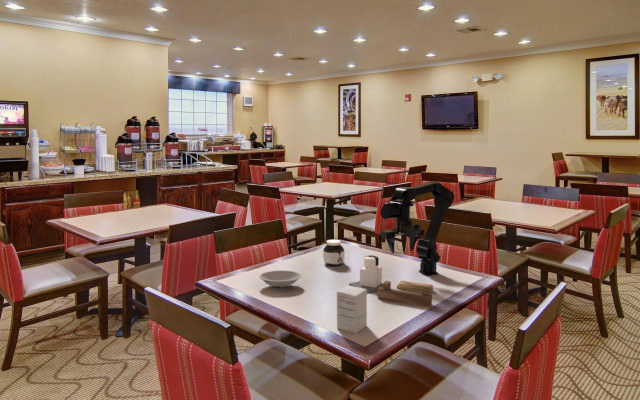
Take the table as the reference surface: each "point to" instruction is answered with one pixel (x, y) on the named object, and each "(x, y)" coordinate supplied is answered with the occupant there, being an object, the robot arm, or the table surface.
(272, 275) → the dish
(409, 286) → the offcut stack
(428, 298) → the walnut rack
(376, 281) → the medicine bottle
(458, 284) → the table surface
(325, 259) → the spread jar
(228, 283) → the table surface
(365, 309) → the supplement box
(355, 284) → the rubber mat
